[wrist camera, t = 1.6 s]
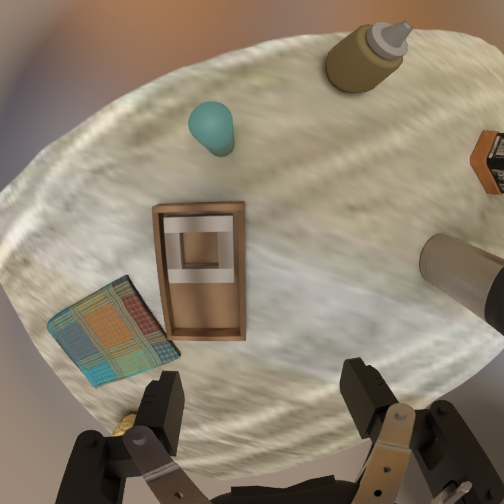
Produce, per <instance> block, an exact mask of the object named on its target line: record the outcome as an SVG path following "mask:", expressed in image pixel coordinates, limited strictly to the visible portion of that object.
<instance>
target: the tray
mask: <svg viewBox="0 0 504 504" xmlns="http://www.w3.org/2000/svg"><path fill="white" fill-rule="evenodd" d="M152 216H153V230H154V242H155V253H156V263H157V272H158V280H159V288H160V295H161V302H162V309H163V315H164V322H165V328H166V333H167V339H168V340H180V341H246V296H245V203H244V201H240V202H198V203H174V204H158V205H156V206H153V207H152Z"/></svg>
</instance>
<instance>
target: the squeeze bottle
mask: <svg viewBox="0 0 504 504" xmlns="http://www.w3.org/2000/svg"><path fill="white" fill-rule="evenodd" d="M411 31H412V26H411V24H410V23H408V22H406V21H403V22H400V23H397V24H395V25H390V24H388V23H385V22H378V23H375V24H374V25H364V26H360V27H359V28H358V29H356V30H355V31H354V32H352V33H351V34H350V35H348V36H347V37H346V38H344V39H343V40H342V41H341V42H339V43H338V44H337V45H335V46H334V47H333V48H332V49H331V51H330V52H329V53H328V58H327V73H328V77H329V79H330V80H331V82H332V83H333V84H334V85H335V86H336V87H337V88H339V89H341V90H344V91H348V92H367V91H369V90H372V89H374V88H375V87H376V86H377V85H378V84H379V83H381V82H382V81H383V80H384V79H385V78H387V77H388V76H389V75H390V74H391V73H393V72H394V71H395V70H396V69H398V68H399V66H400V65H401V63H402V62H403V55H405V54H406V52H407V51H408V44H407V42H406V38H407V36H408V35H409V33H410V32H411Z"/></svg>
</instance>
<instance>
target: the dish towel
mask: <svg viewBox="0 0 504 504" xmlns="http://www.w3.org/2000/svg"><path fill="white" fill-rule="evenodd" d="M47 329H48V331H49V333H50V334H51V335H52V337H53V338H54V339H55V340H56V341H57V343H58V344H59V345H60V346H61V348H62V349H63V350H64V351H65V353H66V354H67V355H68V356H69V358H70V359H71V360H72V361H73V362H74V363H75V364H76V366H77V367H78V368H79V369H80V370H81V372H82V373H83V374H84V375H85V376H86V378H87V379H88V381H89V382H90V383H91V385H92V386H93V387H95V388H96V389H97V388H98V387H100V386H102V385H104V384H109V383H112V382H115V381H118V380H122V379H125V378H128V377H131V376H134V375H136V374H139V373H142V372H144V371H147V370H150V369H152V368H155V367H158V366H161V365H164V364H166V363H169V362H171V361H173V360H176V359H178V358H180V356H181V353H180V351H179V350H178V349H177V347H176V346H175V345H174V343H173V342H172V340H168V339H167V334H166V332H165V331H164V330H163V328H162V327H161V325H160V324H159V322H158V321H157V319H156V318H155V316H154V315H153V313H152V312H151V310H150V309H149V307H148V306H147V305H146V303H145V302H144V300H143V298H142V297H141V295H140V294H139V292H138V291H137V289H136V288H135V286H134V285H133V284H132V282H131V280H130V278H129V276H128V275H125V276H124V277H121V278H119V279H117V280H116V281H114V282H112V283H110V284H108V285H107V286H105V287H103V288H102V289H100V290H98V291H96V292H95V293H93V294H91V295H89V296H88V297H86V298H84V299H83V300H81V301H79V302H77V303H76V304H74V305H72V306H70V307H69V308H67V309H65V310H63V311H62V312H61V313H59V314H57V315H56V316H54V317H53V318H52V319H51V320H49V322H48V324H47Z"/></svg>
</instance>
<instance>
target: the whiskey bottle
mask: <svg viewBox="0 0 504 504" xmlns="http://www.w3.org/2000/svg"><path fill="white" fill-rule="evenodd" d="M470 162H471V166H472V167H473V169H474V171H475V172H476V174H477V176H478V178H479V179H480V181H481V183H482V185H483V187H484V188H485V190H486V192H487V193H489V194H497V195H502V194H503V193H504V133H499V132H498V131H483V132H482V134H481V136H480V139H479V141H478V143H477V145H476V147H475V149H474V151H473V153H472V155H471V157H470Z"/></svg>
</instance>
